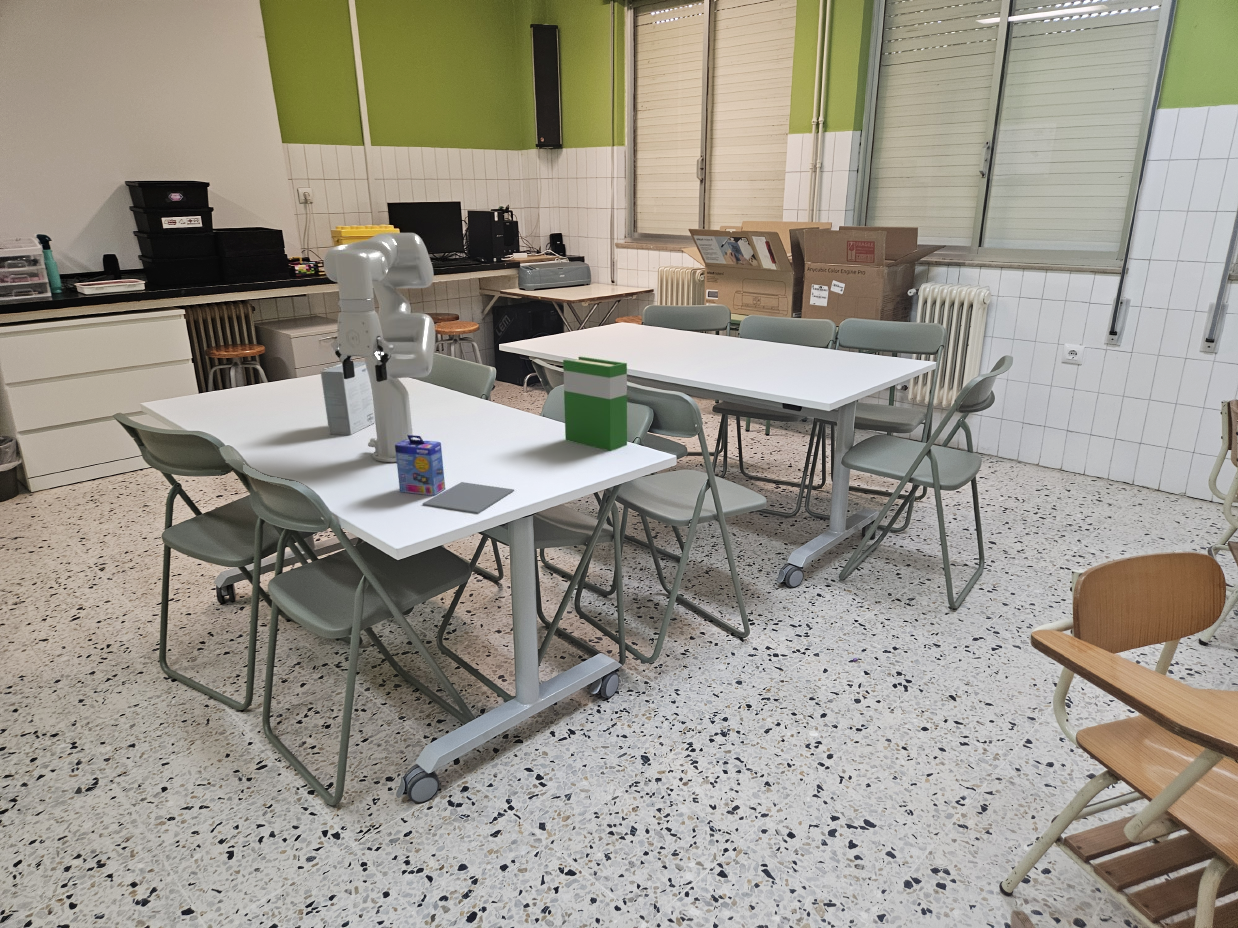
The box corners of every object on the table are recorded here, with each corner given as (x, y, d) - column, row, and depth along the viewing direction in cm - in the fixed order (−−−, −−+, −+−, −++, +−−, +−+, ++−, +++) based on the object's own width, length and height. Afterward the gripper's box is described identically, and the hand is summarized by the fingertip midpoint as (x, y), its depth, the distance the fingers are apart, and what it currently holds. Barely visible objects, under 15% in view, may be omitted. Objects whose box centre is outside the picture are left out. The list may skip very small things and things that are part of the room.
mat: (422, 504, 175) (422, 503, 175) (461, 483, 189) (461, 481, 189) (478, 513, 170) (478, 512, 170) (514, 491, 184) (514, 489, 184)
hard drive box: (354, 421, 248) (347, 361, 242) (376, 422, 247) (369, 362, 241) (327, 434, 234) (319, 370, 228) (350, 435, 232) (342, 371, 226)
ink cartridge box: (398, 492, 183) (392, 435, 179) (410, 485, 189) (405, 429, 184) (434, 496, 181) (429, 438, 176) (446, 489, 186) (441, 432, 181)
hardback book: (565, 440, 226) (563, 360, 219) (582, 434, 231) (580, 356, 224) (610, 450, 215) (609, 367, 208) (627, 445, 221) (626, 363, 213)
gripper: (316, 307, 176) (325, 380, 181) (377, 309, 170) (385, 384, 175) (339, 304, 183) (347, 374, 188) (398, 306, 177) (405, 379, 182)
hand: (365, 379), depth 182 cm, fingers open, 9 cm apart
